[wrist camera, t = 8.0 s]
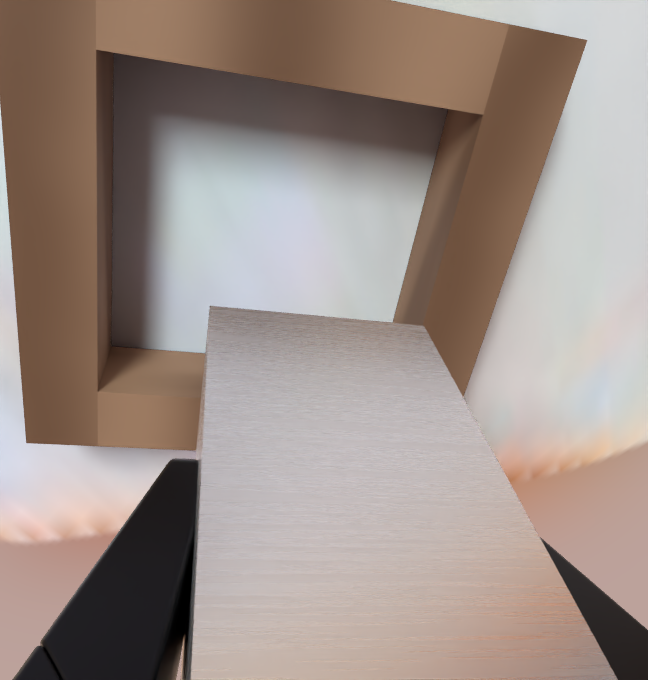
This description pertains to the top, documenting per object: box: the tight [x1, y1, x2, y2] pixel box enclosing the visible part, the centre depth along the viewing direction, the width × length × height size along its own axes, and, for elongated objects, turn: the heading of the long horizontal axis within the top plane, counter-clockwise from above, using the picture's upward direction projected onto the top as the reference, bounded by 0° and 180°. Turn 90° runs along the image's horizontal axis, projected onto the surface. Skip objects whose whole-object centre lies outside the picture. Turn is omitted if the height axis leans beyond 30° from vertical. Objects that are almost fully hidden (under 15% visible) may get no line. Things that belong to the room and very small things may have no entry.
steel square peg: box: [180, 306, 618, 680], centre depth 8 cm, size 4×4×7 cm
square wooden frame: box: [0, 0, 587, 451], centre depth 18 cm, size 13×13×2 cm
